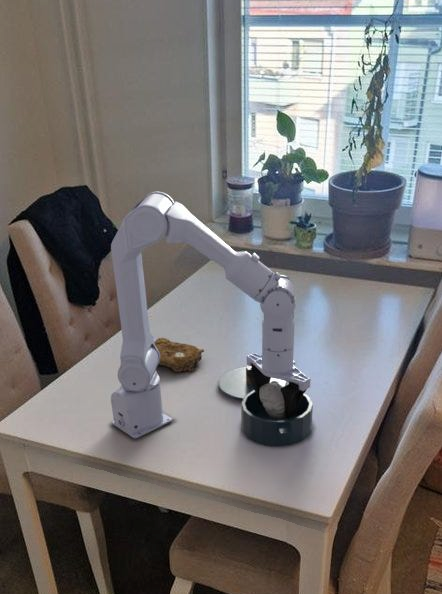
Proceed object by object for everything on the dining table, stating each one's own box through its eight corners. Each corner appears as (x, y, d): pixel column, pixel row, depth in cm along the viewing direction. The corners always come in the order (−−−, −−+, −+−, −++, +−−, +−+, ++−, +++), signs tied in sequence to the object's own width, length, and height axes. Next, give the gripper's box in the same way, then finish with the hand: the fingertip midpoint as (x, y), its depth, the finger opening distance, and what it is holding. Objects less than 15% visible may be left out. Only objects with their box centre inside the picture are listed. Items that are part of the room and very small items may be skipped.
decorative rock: (130, 365, 156) (185, 381, 150) (128, 350, 154) (184, 365, 148) (157, 343, 164) (210, 358, 158) (155, 328, 161) (210, 342, 155)
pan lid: (278, 368, 152) (278, 349, 150) (291, 400, 140) (292, 380, 138) (215, 373, 151) (214, 355, 148) (223, 406, 139) (222, 386, 136)
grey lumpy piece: (269, 404, 134) (269, 373, 130) (300, 414, 131) (301, 382, 127) (252, 418, 130) (252, 386, 126) (284, 428, 127) (284, 396, 123)
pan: (299, 400, 140) (300, 376, 137) (321, 451, 125) (323, 426, 122) (235, 405, 139) (235, 382, 136) (250, 458, 123) (250, 433, 120)
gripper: (323, 350, 120) (319, 415, 127) (265, 326, 129) (264, 388, 136) (296, 363, 116) (293, 429, 123) (238, 338, 125) (239, 401, 132)
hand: (276, 409), depth 129 cm, fingers closed on grey lumpy piece, 7 cm apart
